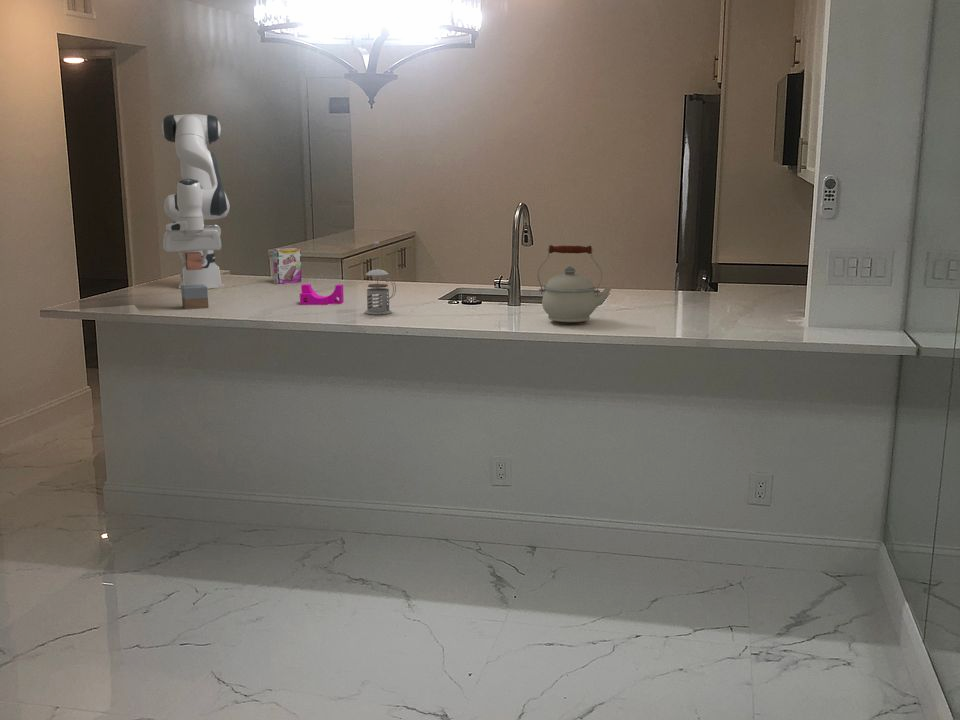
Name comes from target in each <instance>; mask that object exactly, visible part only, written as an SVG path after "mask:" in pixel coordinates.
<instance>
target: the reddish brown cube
mask: <svg viewBox="0 0 960 720" xmlns="http://www.w3.org/2000/svg"><path fill="white" fill-rule="evenodd" d="M184 259H187V261H186V262H187V264H185V265H186V269H187V270H202V258H201V253H200V252H186V251H185V252H184Z"/></svg>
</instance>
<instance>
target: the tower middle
mask: <svg viewBox="0 0 960 720" xmlns="http://www.w3.org/2000/svg"><path fill="white" fill-rule="evenodd" d="M180 293H181V298H182V297H183V298H184V299H199V298H208V299H209V295H208V289H207V287H206V286H205V285H186V286H181V292H180Z"/></svg>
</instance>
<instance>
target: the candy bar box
mask: <svg viewBox="0 0 960 720" xmlns="http://www.w3.org/2000/svg"><path fill="white" fill-rule="evenodd" d="M301 251H302V250H301V248H296V247H290V248H273V249H272V267H273V270H272V273H273V274H272V277H273V278H272V279H273V284H274V283H276V284H275V285H278V284H281V285H286V284H285V283H290V284H298V283H302V254H301V253H302V252H301Z"/></svg>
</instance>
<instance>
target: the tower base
mask: <svg viewBox="0 0 960 720" xmlns="http://www.w3.org/2000/svg"><path fill="white" fill-rule="evenodd" d="M181 300H182V302H181V303H182V308H184V309H185V310H197V309H202V310H203V309H209V307H210V306H209V297H208V298H199V299H184V298H183V297H182V296H181Z"/></svg>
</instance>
